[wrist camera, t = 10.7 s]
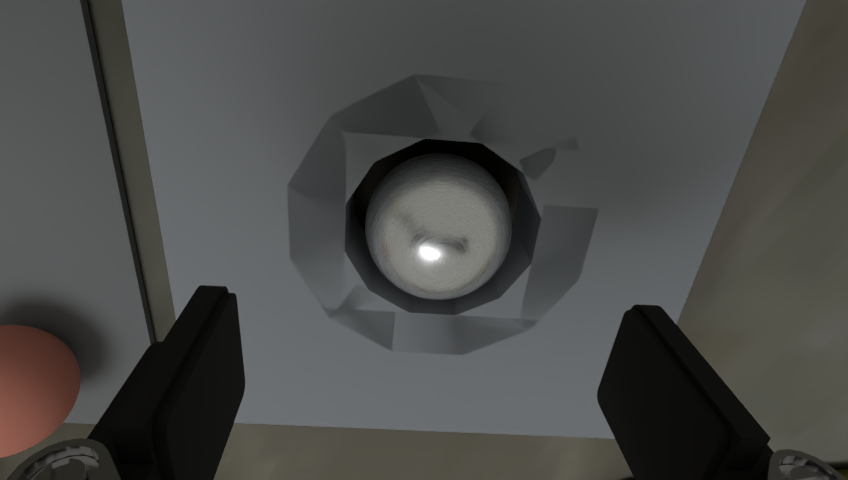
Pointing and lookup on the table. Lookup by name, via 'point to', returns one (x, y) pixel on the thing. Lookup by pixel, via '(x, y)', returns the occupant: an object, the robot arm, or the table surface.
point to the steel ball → (438, 226)
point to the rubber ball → (34, 386)
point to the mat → (66, 201)
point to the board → (456, 121)
